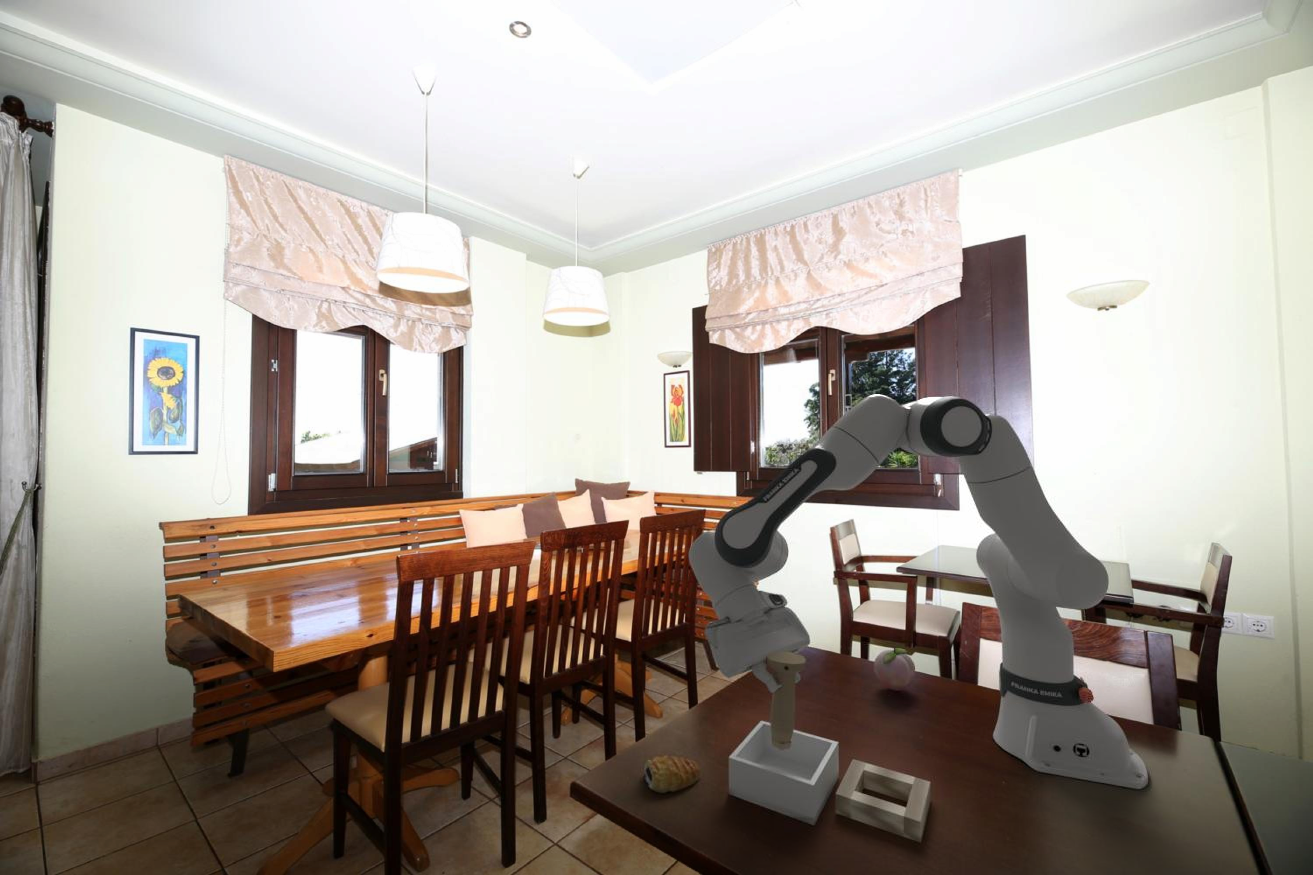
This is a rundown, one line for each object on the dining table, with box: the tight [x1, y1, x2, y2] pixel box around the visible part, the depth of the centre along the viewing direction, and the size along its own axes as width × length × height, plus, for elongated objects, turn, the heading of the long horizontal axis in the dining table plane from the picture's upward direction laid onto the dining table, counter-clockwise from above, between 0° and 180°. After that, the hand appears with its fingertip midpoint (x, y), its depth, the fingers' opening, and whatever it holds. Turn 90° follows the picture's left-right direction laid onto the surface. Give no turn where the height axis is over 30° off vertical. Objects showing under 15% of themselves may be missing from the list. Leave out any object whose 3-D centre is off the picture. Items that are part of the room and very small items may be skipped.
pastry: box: [643, 754, 701, 794], centre depth 95 cm, size 9×7×4 cm
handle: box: [766, 651, 807, 750], centre depth 93 cm, size 5×6×15 cm
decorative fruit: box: [873, 646, 916, 692], centre depth 128 cm, size 9×8×10 cm
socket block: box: [835, 758, 932, 844], centre depth 88 cm, size 12×11×3 cm
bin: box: [728, 720, 840, 826], centre depth 93 cm, size 14×14×6 cm
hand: (786, 685), depth 93 cm, fingers closed on handle, 3 cm apart
